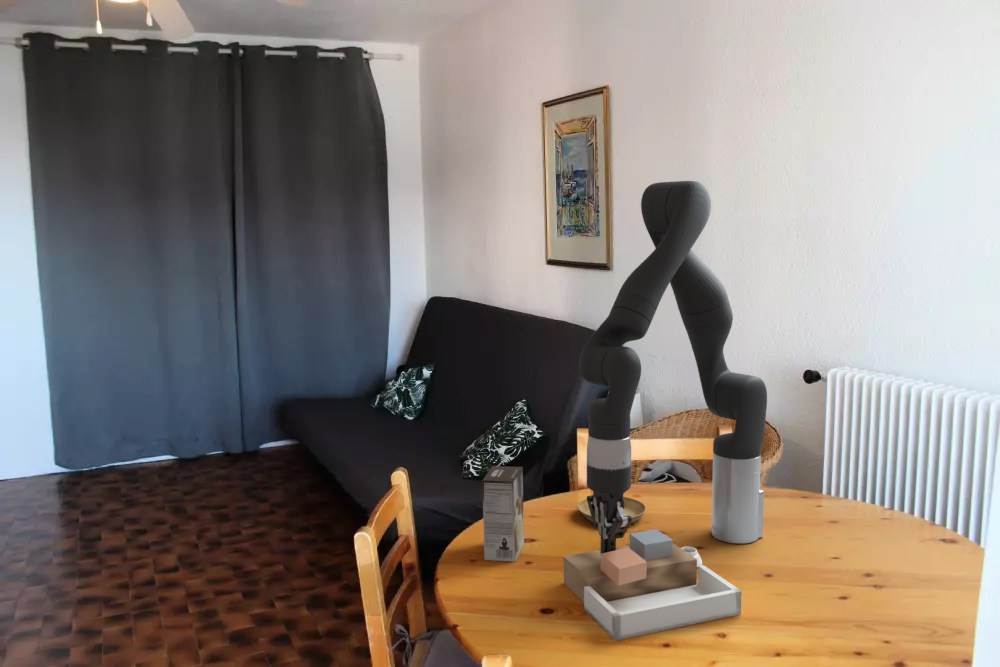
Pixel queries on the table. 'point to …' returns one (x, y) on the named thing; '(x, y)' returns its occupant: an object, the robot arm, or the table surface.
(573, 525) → the table surface
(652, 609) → the box
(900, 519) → the table surface
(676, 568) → the brown wooden slab
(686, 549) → the white jar
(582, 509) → the plant saucer
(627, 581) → the tile terracotta
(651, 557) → the blue grey flat block
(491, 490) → the coffee box
